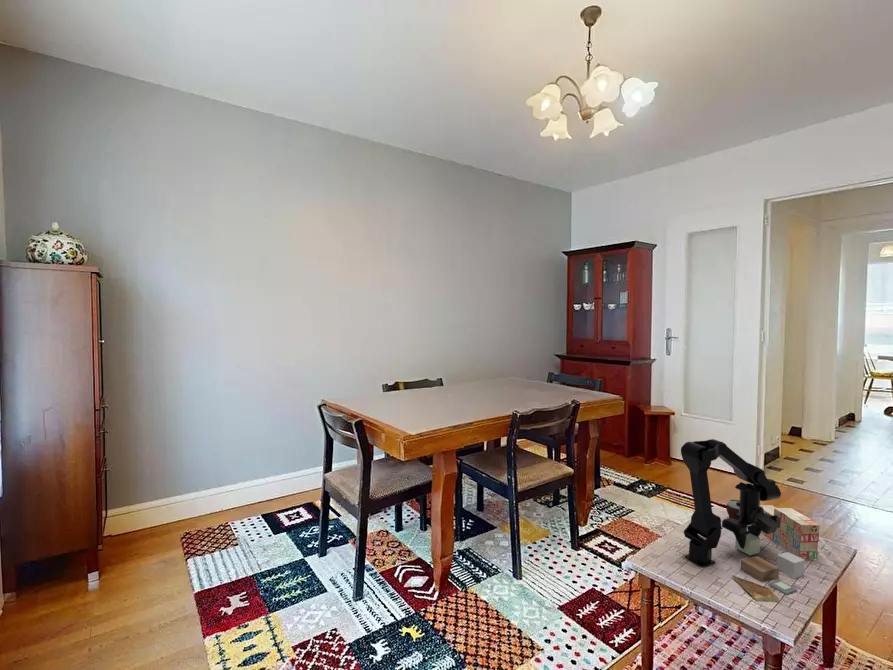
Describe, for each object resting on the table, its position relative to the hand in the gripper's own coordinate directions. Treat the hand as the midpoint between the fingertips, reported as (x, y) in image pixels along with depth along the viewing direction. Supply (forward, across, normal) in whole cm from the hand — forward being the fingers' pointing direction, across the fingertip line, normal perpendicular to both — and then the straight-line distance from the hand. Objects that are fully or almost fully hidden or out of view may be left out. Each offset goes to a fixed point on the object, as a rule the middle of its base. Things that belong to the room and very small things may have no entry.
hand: (747, 546), depth 152 cm
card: (+2, -10, -18) cm, 20 cm away
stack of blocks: (+2, +18, -1) cm, 19 cm away
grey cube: (+2, +1, -13) cm, 13 cm away
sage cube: (+1, 0, 0) cm, 1 cm away
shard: (+3, -20, -16) cm, 26 cm away
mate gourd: (+2, +18, +16) cm, 24 cm away
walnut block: (+2, -9, -10) cm, 14 cm away
